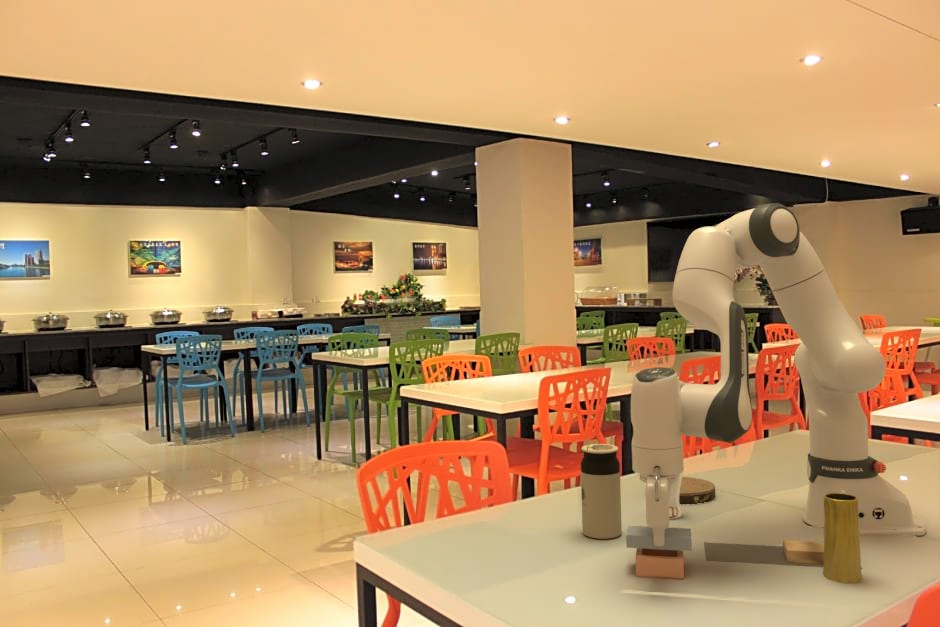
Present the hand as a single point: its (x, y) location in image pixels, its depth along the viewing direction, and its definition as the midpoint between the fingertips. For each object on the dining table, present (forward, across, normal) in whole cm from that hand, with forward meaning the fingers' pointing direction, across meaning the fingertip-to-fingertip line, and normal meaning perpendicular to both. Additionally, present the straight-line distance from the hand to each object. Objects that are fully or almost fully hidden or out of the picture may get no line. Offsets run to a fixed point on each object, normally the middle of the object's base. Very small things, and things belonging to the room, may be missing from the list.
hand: (659, 538), depth 135 cm
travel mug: (+6, +20, +12) cm, 24 cm away
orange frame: (+6, 0, 0) cm, 6 cm away
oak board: (+6, +10, -27) cm, 30 cm away
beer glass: (+6, +35, -1) cm, 35 cm away
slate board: (+1, 0, 0) cm, 1 cm away
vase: (+6, +2, -30) cm, 31 cm away
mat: (+6, +11, -21) cm, 24 cm away
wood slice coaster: (+7, +52, -4) cm, 52 cm away
